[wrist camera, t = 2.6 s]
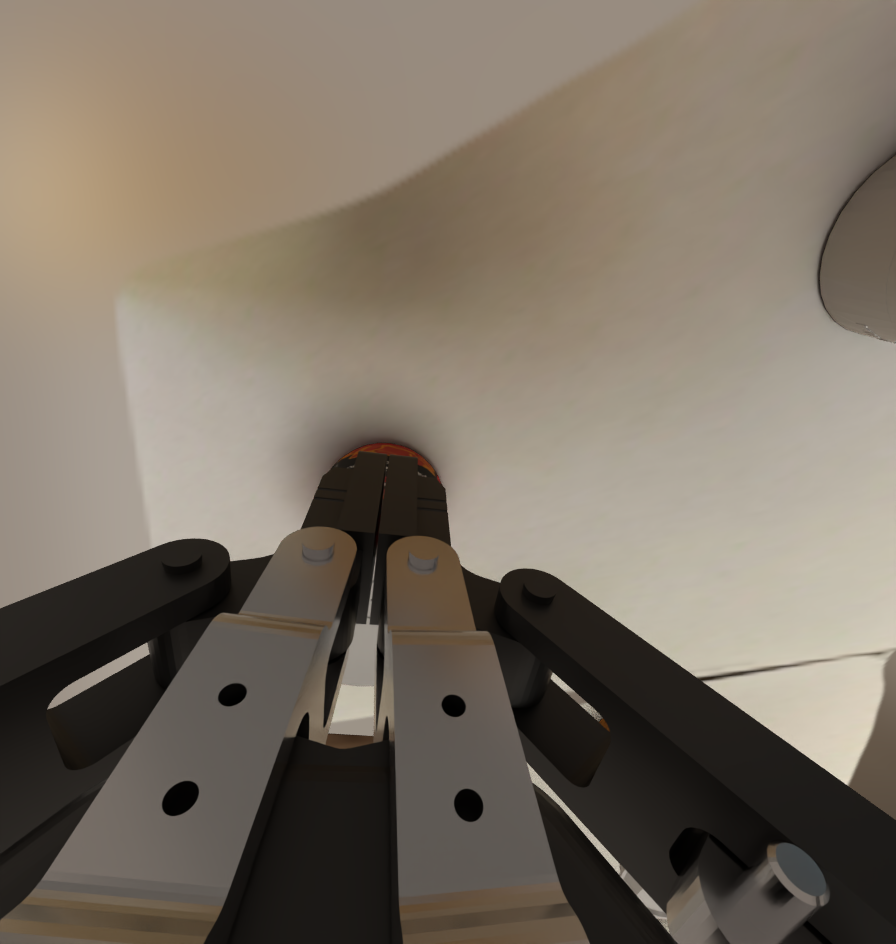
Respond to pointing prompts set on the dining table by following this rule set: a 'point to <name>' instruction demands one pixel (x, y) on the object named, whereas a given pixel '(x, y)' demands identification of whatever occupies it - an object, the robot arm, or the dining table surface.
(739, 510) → the dining table surface
